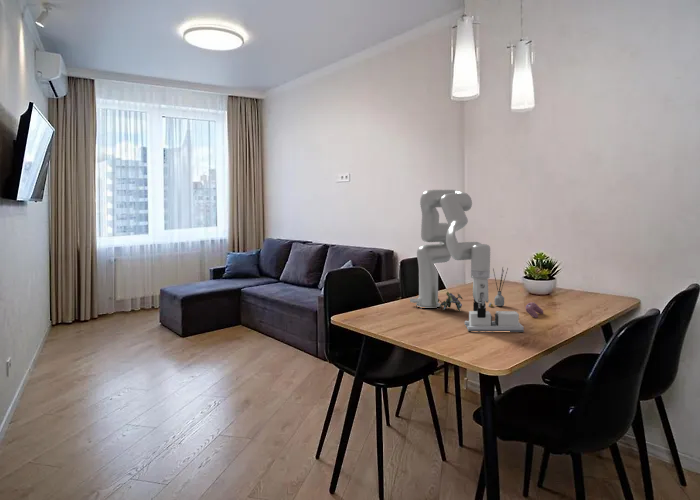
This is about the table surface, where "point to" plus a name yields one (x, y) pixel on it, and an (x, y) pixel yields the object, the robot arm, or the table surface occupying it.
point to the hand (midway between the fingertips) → (479, 314)
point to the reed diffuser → (499, 298)
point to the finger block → (479, 319)
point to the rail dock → (501, 323)
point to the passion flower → (451, 301)
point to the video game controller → (533, 309)
